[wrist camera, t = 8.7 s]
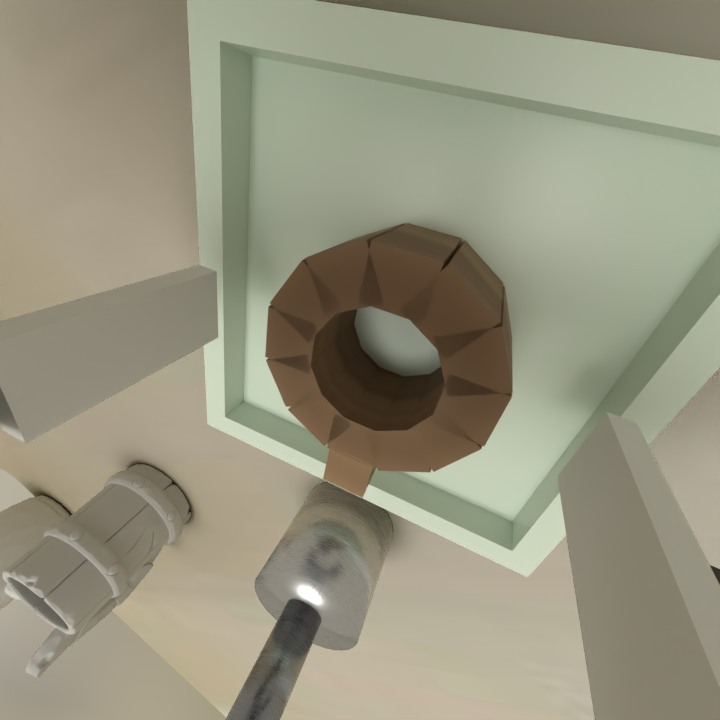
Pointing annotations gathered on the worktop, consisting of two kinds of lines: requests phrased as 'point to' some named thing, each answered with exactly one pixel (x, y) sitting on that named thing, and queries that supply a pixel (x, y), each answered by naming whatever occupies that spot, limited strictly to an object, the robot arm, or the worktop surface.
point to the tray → (463, 228)
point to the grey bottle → (314, 592)
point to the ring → (380, 386)
